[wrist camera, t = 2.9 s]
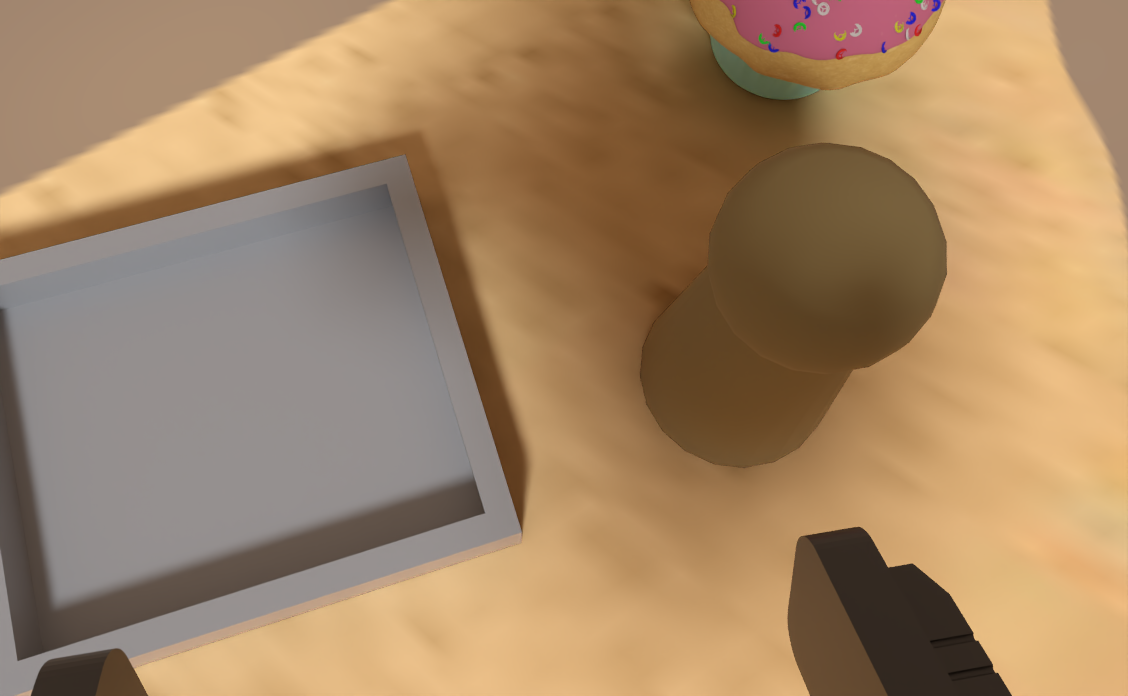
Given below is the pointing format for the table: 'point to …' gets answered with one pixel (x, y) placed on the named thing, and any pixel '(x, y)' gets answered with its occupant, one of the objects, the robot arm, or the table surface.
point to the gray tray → (233, 422)
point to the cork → (793, 301)
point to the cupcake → (813, 41)
